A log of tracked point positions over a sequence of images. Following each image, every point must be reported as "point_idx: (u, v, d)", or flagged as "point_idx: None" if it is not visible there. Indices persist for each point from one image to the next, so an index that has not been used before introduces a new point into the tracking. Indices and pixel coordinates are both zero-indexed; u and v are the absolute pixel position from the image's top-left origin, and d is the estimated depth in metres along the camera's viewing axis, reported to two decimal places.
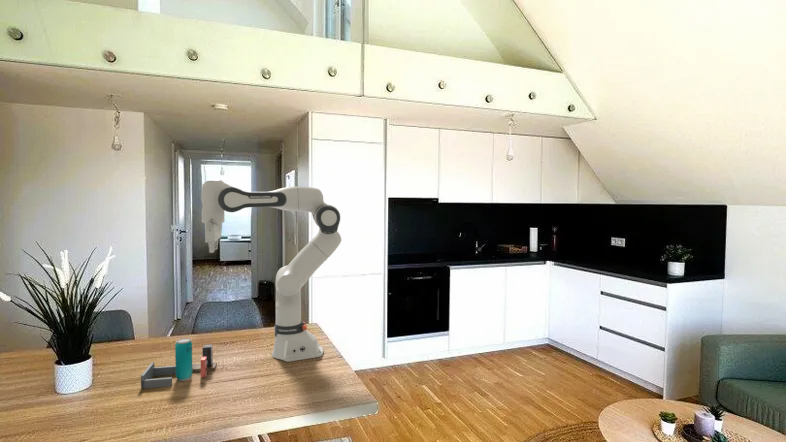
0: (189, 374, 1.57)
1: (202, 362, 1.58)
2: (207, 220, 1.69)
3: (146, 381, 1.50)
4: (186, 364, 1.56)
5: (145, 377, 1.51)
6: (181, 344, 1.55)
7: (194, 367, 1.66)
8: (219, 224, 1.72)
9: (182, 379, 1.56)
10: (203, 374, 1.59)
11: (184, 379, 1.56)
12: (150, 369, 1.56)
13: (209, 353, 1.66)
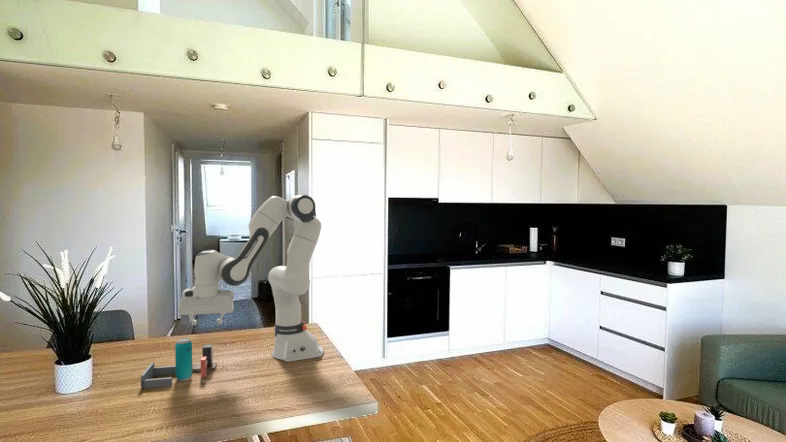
0: (189, 374, 1.57)
1: (202, 362, 1.58)
2: (216, 292, 1.65)
3: (146, 381, 1.50)
4: (186, 364, 1.56)
5: (145, 377, 1.51)
6: (181, 344, 1.55)
7: (194, 367, 1.66)
8: None
9: (182, 379, 1.56)
10: (203, 374, 1.59)
11: (184, 379, 1.56)
12: (150, 369, 1.56)
13: (209, 353, 1.66)
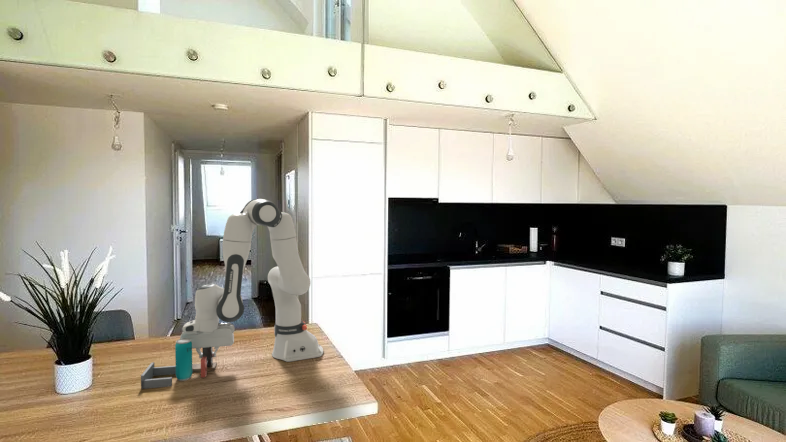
0: (189, 374, 1.57)
1: (202, 362, 1.58)
2: (217, 326, 1.66)
3: (146, 381, 1.50)
4: (186, 364, 1.56)
5: (145, 377, 1.51)
6: (181, 344, 1.55)
7: (194, 367, 1.66)
8: None
9: (182, 379, 1.56)
10: (203, 374, 1.59)
11: (184, 379, 1.56)
12: (150, 369, 1.56)
13: (209, 353, 1.66)
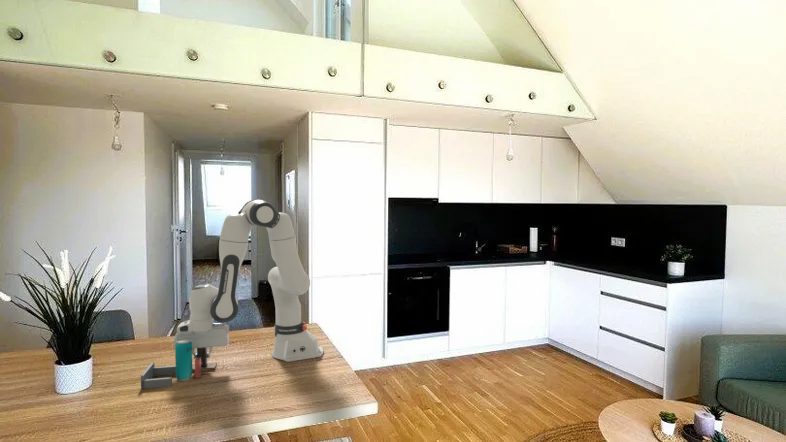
0: (189, 374, 1.57)
1: (196, 363, 1.58)
2: (211, 326, 1.66)
3: (146, 381, 1.50)
4: (186, 364, 1.56)
5: (145, 377, 1.51)
6: (181, 344, 1.55)
7: (194, 367, 1.66)
8: None
9: (182, 379, 1.56)
10: (197, 374, 1.58)
11: (184, 379, 1.56)
12: (150, 369, 1.56)
13: (204, 353, 1.66)
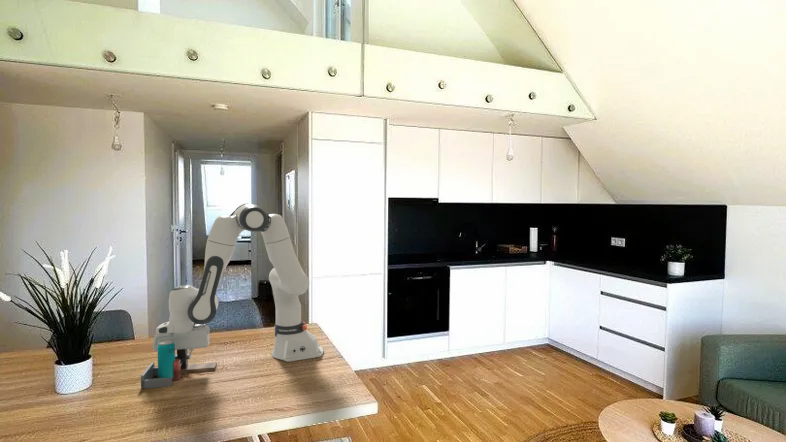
0: (171, 375, 1.56)
1: (175, 364, 1.56)
2: (191, 327, 1.64)
3: (146, 381, 1.50)
4: (168, 365, 1.54)
5: (145, 377, 1.51)
6: (164, 345, 1.54)
7: (194, 367, 1.66)
8: None
9: None
10: (176, 376, 1.56)
11: None
12: (150, 369, 1.56)
13: (184, 355, 1.64)
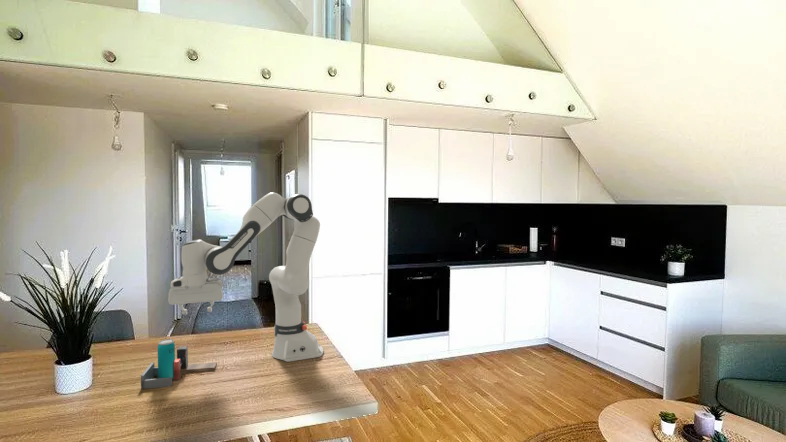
0: (171, 375, 1.56)
1: (175, 364, 1.56)
2: (205, 281, 1.67)
3: (146, 381, 1.50)
4: (168, 365, 1.54)
5: (145, 377, 1.51)
6: (164, 345, 1.54)
7: (194, 367, 1.66)
8: None
9: None
10: (176, 376, 1.56)
11: None
12: (150, 369, 1.56)
13: (184, 355, 1.64)
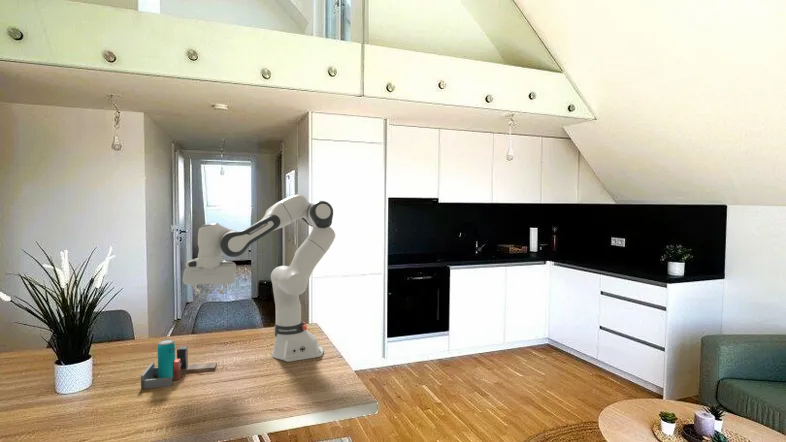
0: (171, 375, 1.56)
1: (175, 364, 1.56)
2: (219, 263, 1.71)
3: (146, 381, 1.50)
4: (168, 365, 1.54)
5: (145, 377, 1.51)
6: (164, 345, 1.54)
7: (194, 367, 1.66)
8: None
9: None
10: (176, 376, 1.56)
11: None
12: (150, 369, 1.56)
13: (184, 355, 1.64)
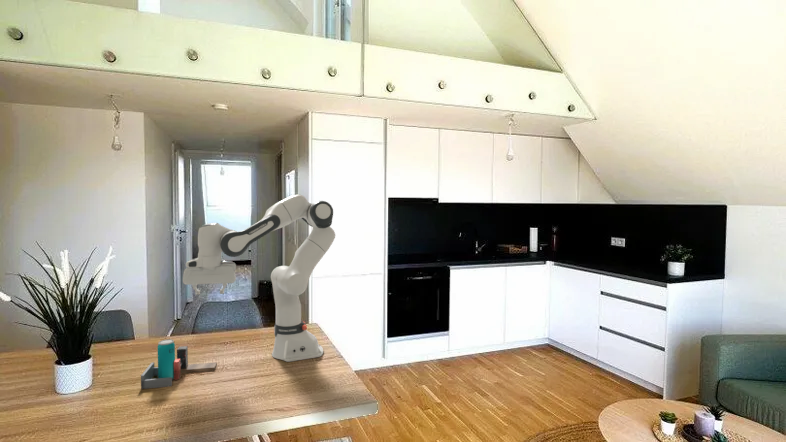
0: (171, 375, 1.56)
1: (175, 364, 1.56)
2: (219, 263, 1.71)
3: (146, 381, 1.50)
4: (168, 365, 1.54)
5: (145, 377, 1.51)
6: (164, 345, 1.54)
7: (194, 367, 1.66)
8: None
9: None
10: (176, 376, 1.56)
11: None
12: (150, 369, 1.56)
13: (184, 355, 1.64)
